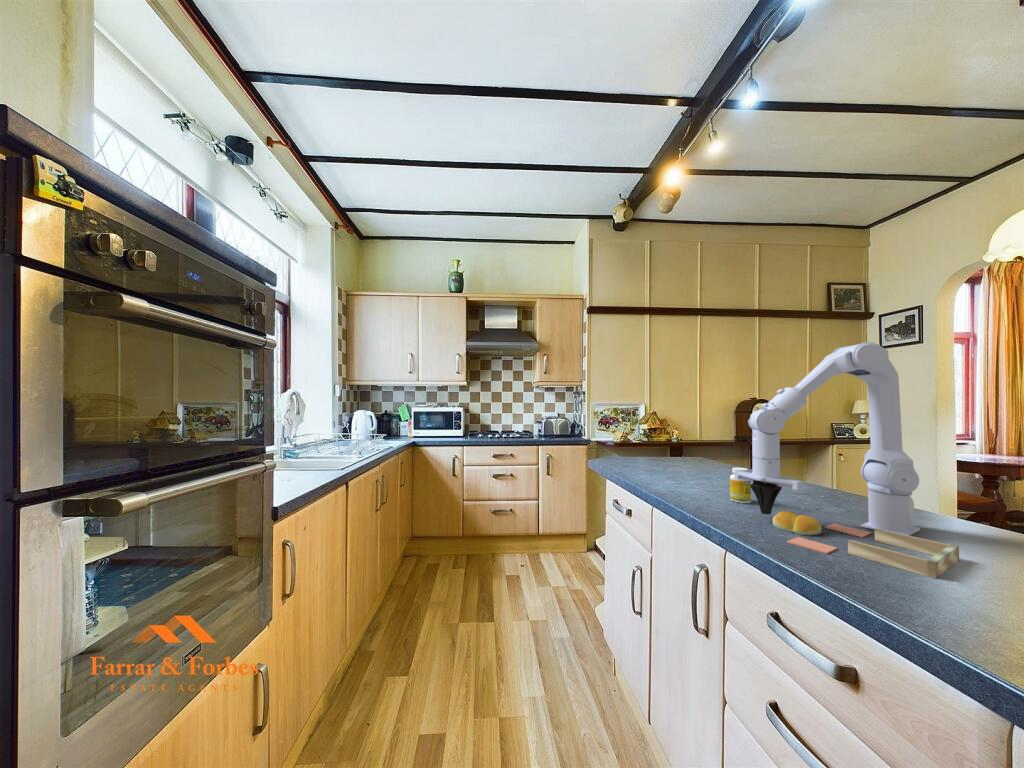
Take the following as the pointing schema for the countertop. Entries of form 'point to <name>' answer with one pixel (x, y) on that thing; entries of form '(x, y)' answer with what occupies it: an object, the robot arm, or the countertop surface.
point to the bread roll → (797, 523)
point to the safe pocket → (931, 567)
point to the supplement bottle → (740, 488)
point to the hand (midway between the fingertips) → (766, 513)
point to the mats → (823, 547)
